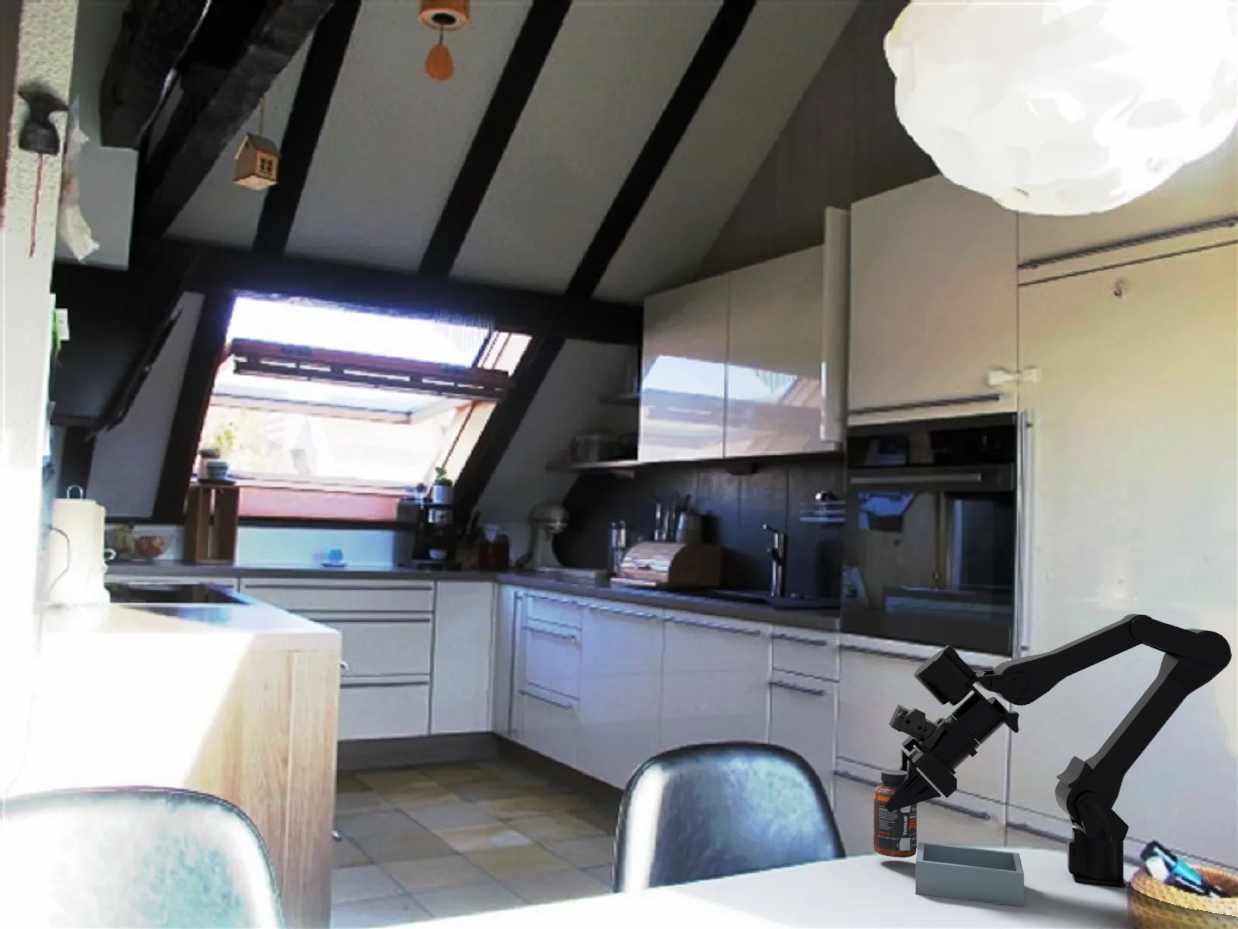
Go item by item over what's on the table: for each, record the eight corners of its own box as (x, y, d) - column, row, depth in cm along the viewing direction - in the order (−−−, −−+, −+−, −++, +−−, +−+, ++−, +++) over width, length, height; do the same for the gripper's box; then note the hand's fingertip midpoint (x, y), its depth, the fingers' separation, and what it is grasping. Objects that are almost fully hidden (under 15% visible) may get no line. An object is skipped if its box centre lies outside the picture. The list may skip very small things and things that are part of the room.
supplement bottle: (918, 860, 150) (918, 776, 151) (874, 857, 152) (874, 774, 153) (915, 850, 156) (915, 769, 157) (872, 847, 157) (873, 767, 158)
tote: (1019, 884, 145) (1019, 853, 146) (1023, 907, 135) (1023, 873, 135) (918, 872, 149) (918, 842, 150) (915, 893, 139) (915, 861, 139)
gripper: (916, 681, 165) (842, 751, 165) (931, 693, 146) (847, 772, 147) (971, 737, 163) (895, 808, 163) (993, 756, 144) (907, 836, 145)
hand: (885, 804), depth 155 cm, fingers closed on supplement bottle, 6 cm apart
